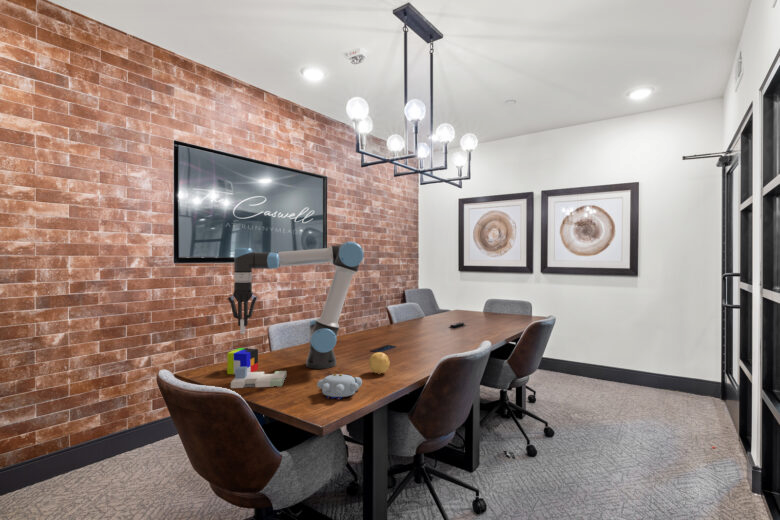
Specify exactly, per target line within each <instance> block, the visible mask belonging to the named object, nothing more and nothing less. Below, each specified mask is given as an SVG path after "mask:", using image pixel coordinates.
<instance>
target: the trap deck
mask: <svg viewBox="0 0 780 520" xmlns="http://www.w3.org/2000/svg"><path fill="white" fill-rule="evenodd" d="M287 375H288V374H287V370H276V371H274V373H265V371H253V372H247V376H246V377H245V378H237V379H235V377H234V378H233V379H232V380H231V382H230V389H246V388H247V387H250V388H268V387H269V388H270V387H271V388H272V387H273V388H274V386H277V387H283V385H284V382H285V381H286V379H285V378H287ZM284 380H285V381H284Z"/></svg>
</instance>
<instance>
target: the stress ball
mask: <svg viewBox="0 0 780 520" xmlns="http://www.w3.org/2000/svg"><path fill="white" fill-rule="evenodd" d="M390 365H391V362H390V359H389V357H388V355H387V354H385V352H381V351H379V352H378V351H377V352H374V353H372V355H371V356H370V358H369V359H368V366H369V369H370V370H371V371H372V372H373V373H375V374H376V373H378V374H377V375H382V374H384V373H385V372H387V370H388V369H390ZM381 373H382V374H381Z"/></svg>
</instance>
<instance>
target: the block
mask: <svg viewBox="0 0 780 520" xmlns="http://www.w3.org/2000/svg"><path fill="white" fill-rule="evenodd" d="M246 376H247V367H237V368H236V369H235V374H234V378H235V379H237V378H245V377H246Z"/></svg>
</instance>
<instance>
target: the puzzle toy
mask: <svg viewBox="0 0 780 520" xmlns="http://www.w3.org/2000/svg"><path fill="white" fill-rule="evenodd" d="M258 349H259V348H249V347H248V348H245V347H239V348H236V349H234V350H231V351H229V352H227V353H226V354H227V355H226V357H227V358H226V359H227V364H226V365H227V369H226V372H227V373H226V374H227V375H235V369H236V368H237V367H247V372H256V371H257V370H258V369H259V350H258Z"/></svg>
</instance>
